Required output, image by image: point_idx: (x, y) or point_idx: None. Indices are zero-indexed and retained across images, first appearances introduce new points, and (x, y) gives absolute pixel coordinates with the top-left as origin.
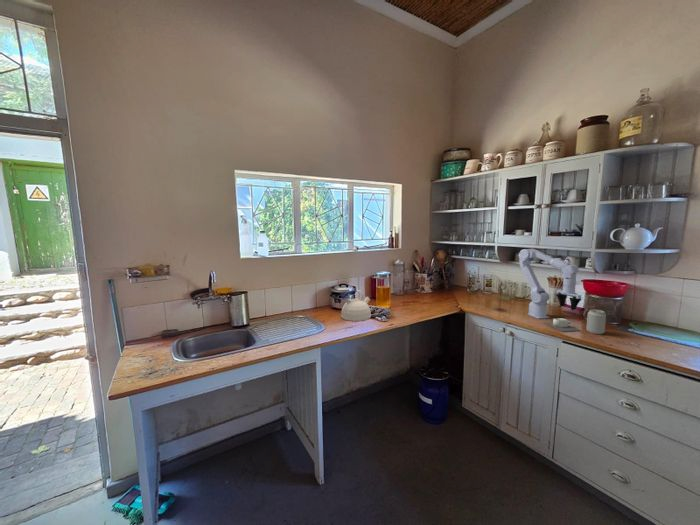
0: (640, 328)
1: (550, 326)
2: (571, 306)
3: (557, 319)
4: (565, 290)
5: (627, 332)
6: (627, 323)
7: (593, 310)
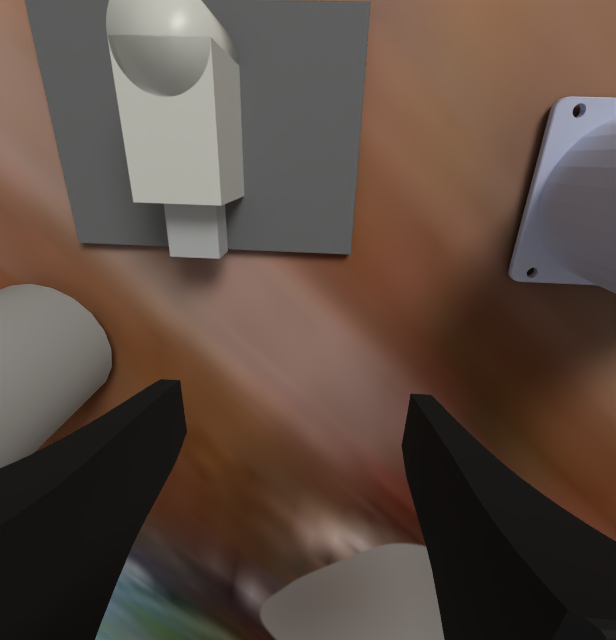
0: (152, 619)
1: (237, 5)
2: (127, 409)
3: (164, 55)
4: None
5: None
6: (240, 636)
7: None
